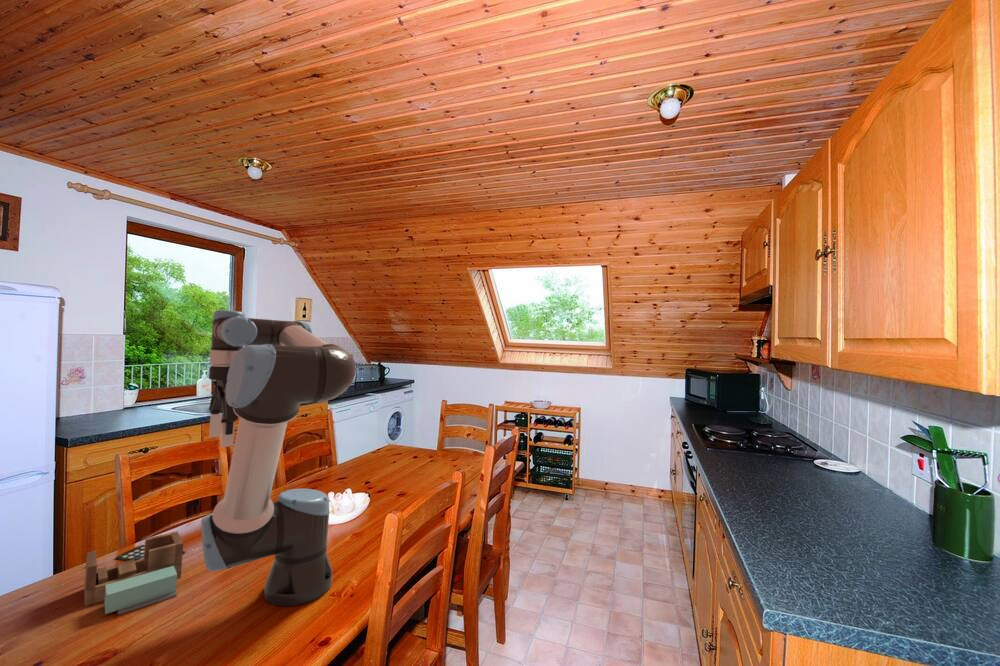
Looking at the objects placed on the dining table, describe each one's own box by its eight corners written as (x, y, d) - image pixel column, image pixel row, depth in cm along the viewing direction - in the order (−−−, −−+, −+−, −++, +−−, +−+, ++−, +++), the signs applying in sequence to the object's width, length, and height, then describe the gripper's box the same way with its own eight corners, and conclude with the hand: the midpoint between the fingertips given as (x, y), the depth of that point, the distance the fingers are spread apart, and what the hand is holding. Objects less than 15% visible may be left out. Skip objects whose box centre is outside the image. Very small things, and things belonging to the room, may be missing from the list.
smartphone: (161, 565, 107) (113, 557, 109) (161, 568, 107) (113, 560, 109) (187, 551, 114) (141, 544, 116) (187, 553, 114) (141, 547, 116)
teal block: (172, 582, 99) (173, 565, 99) (175, 591, 96) (177, 574, 96) (104, 603, 91) (105, 584, 91) (105, 614, 87) (106, 595, 87)
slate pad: (176, 596, 95) (176, 593, 95) (118, 615, 88) (118, 612, 88) (171, 582, 100) (171, 580, 100) (116, 599, 93) (116, 597, 93)
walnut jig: (175, 563, 108) (177, 531, 109) (180, 577, 102) (183, 543, 103) (84, 589, 96) (86, 552, 96) (84, 606, 90) (87, 567, 90)
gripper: (254, 368, 108) (249, 448, 108) (229, 362, 126) (225, 431, 125) (221, 368, 103) (215, 453, 102) (200, 362, 120) (195, 434, 120)
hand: (220, 441), depth 114 cm, fingers open, 13 cm apart
